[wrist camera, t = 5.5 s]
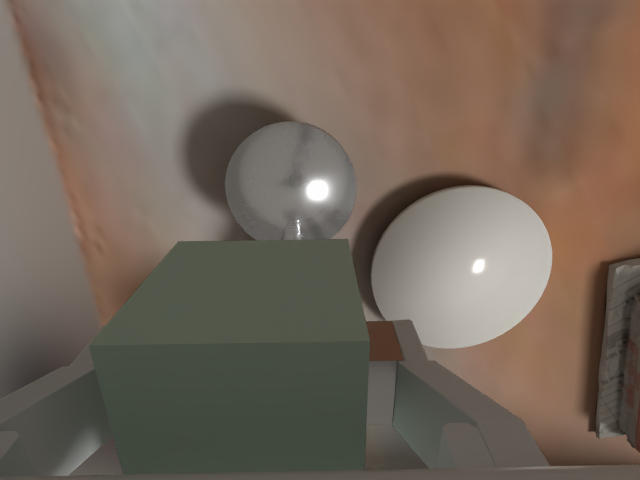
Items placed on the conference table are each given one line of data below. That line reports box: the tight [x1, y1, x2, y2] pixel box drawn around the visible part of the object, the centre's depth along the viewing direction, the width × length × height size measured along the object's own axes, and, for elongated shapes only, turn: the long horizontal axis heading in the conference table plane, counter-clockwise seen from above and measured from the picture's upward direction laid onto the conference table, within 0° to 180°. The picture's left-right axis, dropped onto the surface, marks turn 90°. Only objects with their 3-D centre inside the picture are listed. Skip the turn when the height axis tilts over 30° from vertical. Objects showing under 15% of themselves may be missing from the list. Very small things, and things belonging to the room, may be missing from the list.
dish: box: [371, 185, 552, 348], centre depth 30 cm, size 13×13×2 cm
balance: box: [225, 121, 357, 240], centre depth 26 cm, size 22×8×10 cm, turn 0°
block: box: [89, 239, 370, 475], centre depth 9 cm, size 4×4×4 cm
